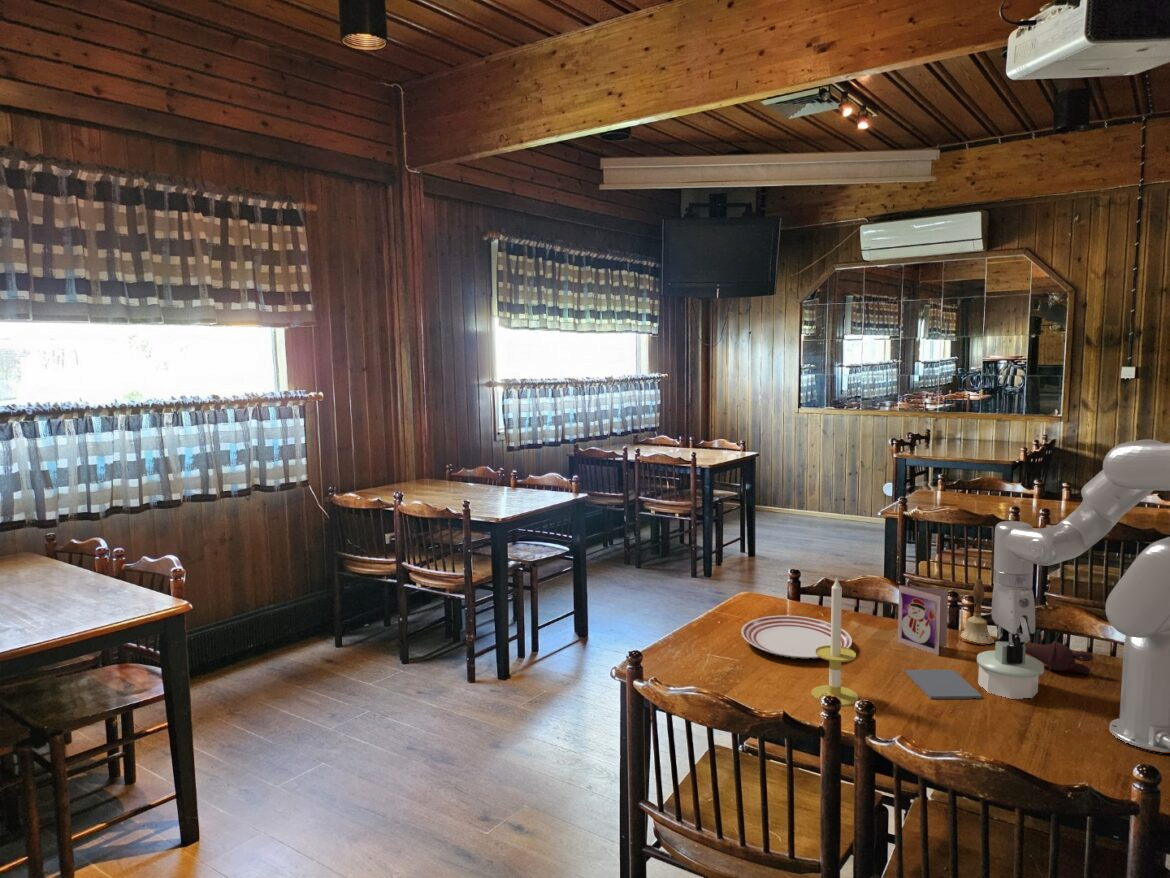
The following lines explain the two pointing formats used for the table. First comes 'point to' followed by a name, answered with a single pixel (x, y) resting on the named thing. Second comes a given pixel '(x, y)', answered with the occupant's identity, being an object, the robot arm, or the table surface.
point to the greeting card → (923, 617)
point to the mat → (943, 684)
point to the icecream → (1060, 657)
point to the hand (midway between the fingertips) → (1009, 659)
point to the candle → (836, 654)
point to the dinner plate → (791, 635)
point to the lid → (998, 663)
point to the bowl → (1007, 685)
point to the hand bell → (977, 619)
